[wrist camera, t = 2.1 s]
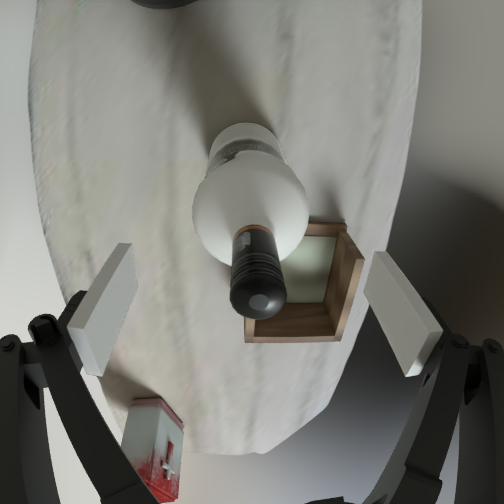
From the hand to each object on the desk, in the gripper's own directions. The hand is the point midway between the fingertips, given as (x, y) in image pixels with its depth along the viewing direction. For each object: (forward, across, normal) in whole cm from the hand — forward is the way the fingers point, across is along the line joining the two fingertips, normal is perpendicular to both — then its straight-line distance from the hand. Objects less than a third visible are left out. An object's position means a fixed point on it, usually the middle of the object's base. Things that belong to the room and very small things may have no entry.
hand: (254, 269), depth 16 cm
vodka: (+27, 0, 0) cm, 27 cm away
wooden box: (+27, +8, -17) cm, 33 cm away
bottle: (+28, -19, -61) cm, 69 cm away
